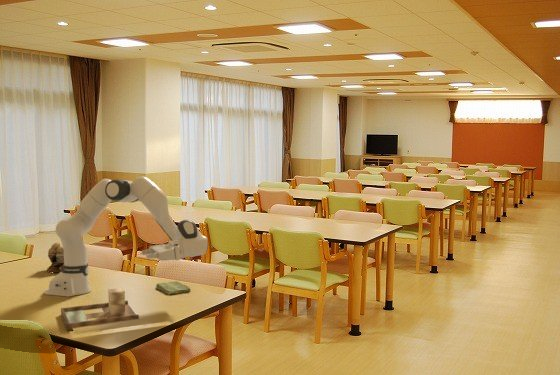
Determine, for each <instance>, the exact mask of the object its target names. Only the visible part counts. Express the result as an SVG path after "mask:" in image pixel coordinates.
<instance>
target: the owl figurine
mask: <svg viewBox="0 0 560 375" xmlns="http://www.w3.org/2000/svg"><path fill="white" fill-rule="evenodd" d="M47 252H48V253H47V254H48V255H47V257H48V259H49V260H50V263H51V264H50V266H48V267H47V269H46V271H47V272H48V271H49V272H48V273H50V272H53V273H52V274H56V273H58V274H59V273H60V272H61V269H60V268H59V267H61V266H62V265H63V264H64V250H63V245H62V246H61V243H60V242H54V243H53V244H52V245H51V247H50V248H48V251H47Z"/></svg>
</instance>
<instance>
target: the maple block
mask: <svg viewBox="0 0 560 375" xmlns="http://www.w3.org/2000/svg"><path fill="white" fill-rule="evenodd" d="M107 290H108V292H107V293H108V294H107V295H108V299H107V300H108V303H109V313H110V314H111V315H119V314H125V301H126V291H125V290H124V288H122V287H120V288H119V287H118V288H110V289H109V288H108V289H107Z"/></svg>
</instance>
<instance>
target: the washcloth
mask: <svg viewBox="0 0 560 375" xmlns="http://www.w3.org/2000/svg"><path fill="white" fill-rule="evenodd" d="M155 288H156V289H157V290H158V291H160V290H161V291H160V292H162V291H163V293H165V294H167V295H168V294H169V296H172V295H171V294H173V295H177V293H179V294H183V293H188V291H189V292H191V290H192V289H191V287H190V286H189V285H186V284H184V283H182V282H180V281H177V280H175V281H168V282H159V283H156V285H155Z"/></svg>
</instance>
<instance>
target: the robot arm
mask: <svg viewBox="0 0 560 375" xmlns="http://www.w3.org/2000/svg"><path fill="white" fill-rule="evenodd" d="M112 201H113V202H118V203H135V202H138V201H140V203H141V204H142V205H144V207H145V208H146V209H147V210H148V212H149V213H150V214H151V215H152V217H153V218H154V220H155V221H156V223H157V224H158V225H159V227H160V228H161V229H162V230H163V232H164V233H165V234H166V235H167V237H168V238H169V241H168V243H166V244H155V245H154V244H153V245H150V246H149V247H148V248H147V249H145V250H144V249H143V250H141V252H140V253H141V255H142V256H145V258H146V259H147V260H148V259H157V260H159V261H161V262H162V261H163V262H164V261H180V260H182V259H185V258H193V257H198V256H202V255H204V254H206V253H207V252H208V249H209V240H208V237H207V236H205V235H203V234H202V232H200V230H199V229H198V227H197V225H196V223H195V222H194V221H193V220H190V219H183V220H181V221H180V222H178V223H177V225H176V223H175V222H174V221H173V220H172V218H171V217H170V213H169V202H168V201H169V200H168V197H167V195H166V193H165V192H164V191H163V190H162V189H161V187H159V186H158V185H157V184H156V182H153V181H152V180H151V179H149V178H148V177H146V176H142V175H141V176H138V177H137V178H135V179H134V180H133V181H132V180H127V179H120V178H119V179H118V178H117V179H109V178H103V179H101V180H100V181H99V182H98V183H96V184H95V185H94V186H92V188H91V190H90V191H88V193H86V195H85V196H84V198H83V199H82V200H81V201H80V203H79V206H78V208H77V210H76V211H75V212H74V214H72V215H71V216H68V217H64V218H62V219H61V220H60V221H59V222H57V224H56V226H55V233H56V235H57V237H59V239H60V241H61V244H62V247H63V250H64V264H63V265H62V266H61V267H59V268H60V269H61V272H60V273H58V274H56V275H55V276H54V277H53V278H51V280H50V281H49V283H48V288H46V289H45V290H44V291H43V295H48V296H49V295H50V296H59V297H74V296H78V295H85V294H87V293H90V292H91V291H92V289H91V284H90V281H89V270H90V269H89V263H88V248H87V247H86V246H85V243H84V240H83V236H84V235H86V234H88V233H89V232H90V231H91V230H92V229H93V227H94V225H95V223H96V220H97V219H98V218H99V216H100V215H101V213H103V211H104V210H105V209H106V208H107V207H108V205H110V203H111V202H112Z"/></svg>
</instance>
